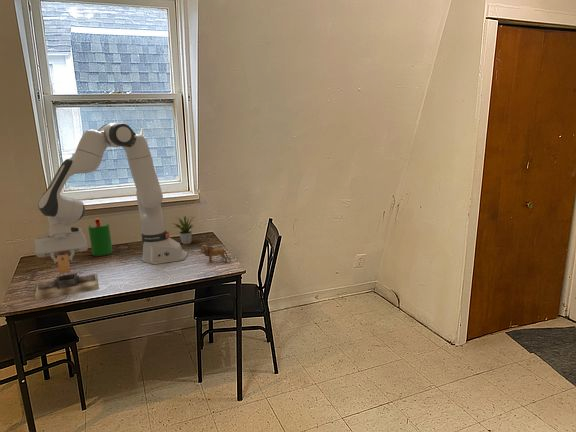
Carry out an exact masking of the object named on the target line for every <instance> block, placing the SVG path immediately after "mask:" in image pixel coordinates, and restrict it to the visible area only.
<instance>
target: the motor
mask: <svg viewBox="0 0 576 432" xmlns="http://www.w3.org/2000/svg"><path fill="white" fill-rule="evenodd" d="M87 227H88V233H89V241H90V246H91V254H92V256H94V257H98V256H99V257H100V256H107V255H110V254H112V253H113V244H112V237H111V231H110V224H109V223H106V224H105V225H101V221H100V218H99V217H98V218H97V217H96V218H95V226H94V227H93V226H92V225H91V224H89V225H88V226H87Z"/></svg>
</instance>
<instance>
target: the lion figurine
mask: <svg viewBox="0 0 576 432" xmlns="http://www.w3.org/2000/svg"><path fill="white" fill-rule="evenodd" d="M200 252H201V254H203V255H204V256H205V257H208V263H212V262H213V260H212V259H213V257H218V256H220V257H221V259H220V261H224V263H227V262H228V260H229V261H230V260H232V258H229V256H228V253H227V251H226V250H225V248H214V247H213V246H211V245H208V244H203V245H200Z"/></svg>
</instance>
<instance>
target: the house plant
mask: <svg viewBox="0 0 576 432" xmlns="http://www.w3.org/2000/svg"><path fill="white" fill-rule="evenodd" d="M195 217H196V215H194V216H193V217H191V216H189V217H188V218H187V215H186V214H185V215H184V216H183V218H181V217H175V219H174V220H175V221H176V222H177V223H175V222H172V224H173V225H175V226H174V227H173V229H174V228H178V229H180V231H179V233H178V234H179V239H180V240H181V244H182V243H183V245H189V244H191V243H192V234H193V231H192V230H190V229H192V228H194V225H193V224H191V223H192V222H193V221H194V220H195V219H194V218H195ZM190 218H191V219H190ZM176 219H177V220H178V221H177V220H176ZM189 219H190V220H189Z"/></svg>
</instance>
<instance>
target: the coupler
mask: <svg viewBox="0 0 576 432" xmlns="http://www.w3.org/2000/svg"><path fill="white" fill-rule="evenodd" d="M68 256H69V253H68V252H63V253H57V255H56V258H57V260H58V263H57V265H58V272H59V275H61V274H67V273H71V267H70V266H71V265H70V262H69V261H68Z"/></svg>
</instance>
